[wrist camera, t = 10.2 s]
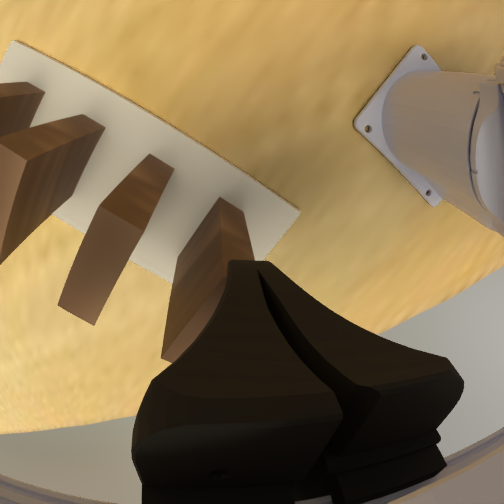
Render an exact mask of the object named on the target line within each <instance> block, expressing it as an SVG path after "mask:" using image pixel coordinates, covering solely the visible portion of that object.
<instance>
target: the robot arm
mask: <svg viewBox="0 0 504 504" xmlns="http://www.w3.org/2000/svg"><path fill="white" fill-rule="evenodd" d="M421 55H423V56H424V60H423V59H422V57H421ZM495 74H496V75H491V74H481V73H469V72H453V71H442V70H441V69H440V67H439V66H438V65H437V64H436V62H435V61H434V60H433V59H432V58H431V56H430V55H429V54H428V53H427V52H426V51H425V49H424V48H423V47H422V46H420V45H414V46H413V47H412V48H411V49H410V50H409V51H408V53H407V54H406V55H405V56H404V58H403V59H402V60H401V61H400V63H399V64H398V65H397V67H396V68H395V69H394V70H393V72H392V73H391V74H390V75H389V77H388V78H387V79H386V80H385V82H384V83H383V84H382V85H381V87H380V88H379V89H378V90H377V92H376V93H375V94H374V95H373V97H372V98H371V99H370V100H369V102H368V103H367V104H366V106H365V107H364V108H363V109H362V111H361V112H360V113H359V114H358V116H357V117H356V118H355V120H354V127H355V128H356V130H358V131H359V132H360V133H361V134H362V135H363V136H364V137H365V138H366V139H367V140H368V141H369V142H370V143H371V144H372V145H373V146H374V147H376V148H377V149H378V150H379V151H380V152H381V153H382V154H383V155H384V156H385V157H386V158H387V159H388V160H389V161H390V162H391V163H392V164H393V165H394V166H395V168H396V169H397V170H398V171H399V172H400V173H401V174H402V175H403V176H404V177H405V178H406V179H407V180H408V181H409V182H410V183H411V185H412V186H413V187H414V188H415V189H416V190H417V191H418V192H419V193H420V194H421V196H422V197H423V198H424V199H425V200H426V201H427V202H428V204H430V205H431V206H432V207H435V206H437V205H438V204H439V203H440V201H441V200H442V199H444V200H445V201H447V202H449V203H450V204H452V205H453V206H455V207H457V208H458V209H460V210H461V211H463V212H464V213H466V214H467V215H469V216H470V217H472V218H473V219H475V220H476V221H478V222H479V223H481V224H482V225H484V226H485V227H487V228H489V229H491V230H493V231H496V232H498V233H499V234H500V235H502V236H503V237H504V55H503V57H502V59H501V60H500V63H497V64H496V65H495ZM367 125H368V126H369V131H368V132H365V126H367ZM427 190H428V194H426V192H427ZM463 389H464V381H463V379H462V378H461V376H460V375H459V373H458V372H457V370H456V369H455V368H454V366H453V365H452V364H451V362H450V361H449V360H448V359H447V358H446V357H441V356H438V355H434V354H430V353H427V352H423V351H419V350H415V349H412V348H409V347H406V346H403V345H401V344H398V343H395V342H392V341H390V340H387V339H385V338H382V337H380V336H378V335H376V334H374V333H372V332H369V331H367V330H365V329H363V328H361V327H359V326H357V325H355V324H353V323H352V322H350V321H348V320H346V319H345V318H343V317H341V316H340V315H338V314H336V313H335V312H333V311H332V310H330V309H329V308H327V307H326V306H324V305H323V304H321V303H320V302H319V301H317V300H316V299H314V298H313V297H312V296H311V295H309V294H308V293H307V292H305V291H304V290H303V289H302V288H300V287H299V286H298V285H297V284H296V283H294V282H293V281H292V280H291V279H290V278H289V277H287V276H286V275H285V274H284V273H283V272H282V271H280V270H279V269H278V268H277V267H276V266H275V265H273V264H272V263H271V262H269V261H255V260H235V259H232V260H230V261H229V262H228V267H227V276H226V286H225V290H224V292H223V295H222V297H221V299H220V301H219V303H218V306H217V308H216V309H215V311H214V313H213V315H212V316H211V318H210V320H209V321H208V323H207V324H206V326H205V327H204V329H203V330H202V331H201V333H200V334H199V335H198V337H197V338H196V339H195V340H194V342H193V343H192V344H191V345H190V346H189V347H188V348H187V349H186V350H185V351H184V352H183V353H182V354H181V355H180V356H179V358H178V359H176V360H175V361H174V362H173V363H172V364H171V365H170V366H168V367H167V368H166V369H165V370H164V371H162V372H161V373H160V374H159V375H158V376H156V377H155V378H154V379H153V380H152V381H151V383H150V385H149V387H148V389H147V391H146V393H145V396H144V398H143V400H142V403H141V405H140V408H139V410H138V413H137V416H136V420H135V424H134V428H133V436H132V450H131V451H132V460H133V463H134V466H135V468H136V471H137V473H138V476H139V478H140V480H141V483H142V504H504V427H503V428H501V429H500V430H498V431H496V432H495V433H493V434H491V435H489V436H488V437H486V438H484V439H482V440H480V441H478V442H476V443H474V444H472V445H470V446H468V447H466V448H464V449H462V450H460V451H458V452H456V453H454V454H452V455H449V456H447V457H445V458H443V456H442V454H441V452H440V451H439V449H438V447H437V445H436V444H437V443H439V442H440V440H441V437H440V435H439V433H438V431H437V430H436V429H437V428H438V426H439V425H440V424H441V423H442V422H443V420H444V419H445V418H446V417H447V416H448V414H449V413H450V412H451V411H452V409H453V408H454V407H455V405H456V404H457V402H458V401H459V399H460V397H461V395H462V392H463ZM0 504H116V503H109V502H103V501H97V500H91V499H86V498H81V497H76V496H72V495H67V494H63V493H59V492H55V491H52V490H48V489H44V488H40V487H37V486H34V485H30V484H27V483H24V482H21V481H18V480H15V479H12V478H9V477H7V476H4V475H1V474H0Z"/></svg>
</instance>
